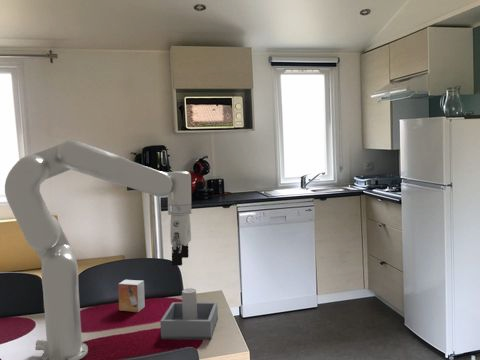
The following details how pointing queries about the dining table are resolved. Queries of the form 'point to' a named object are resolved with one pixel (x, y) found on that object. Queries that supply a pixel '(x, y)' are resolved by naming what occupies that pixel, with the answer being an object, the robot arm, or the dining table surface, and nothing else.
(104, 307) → the dining table surface
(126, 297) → the small box
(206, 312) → the box
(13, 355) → the dining table surface
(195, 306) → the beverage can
